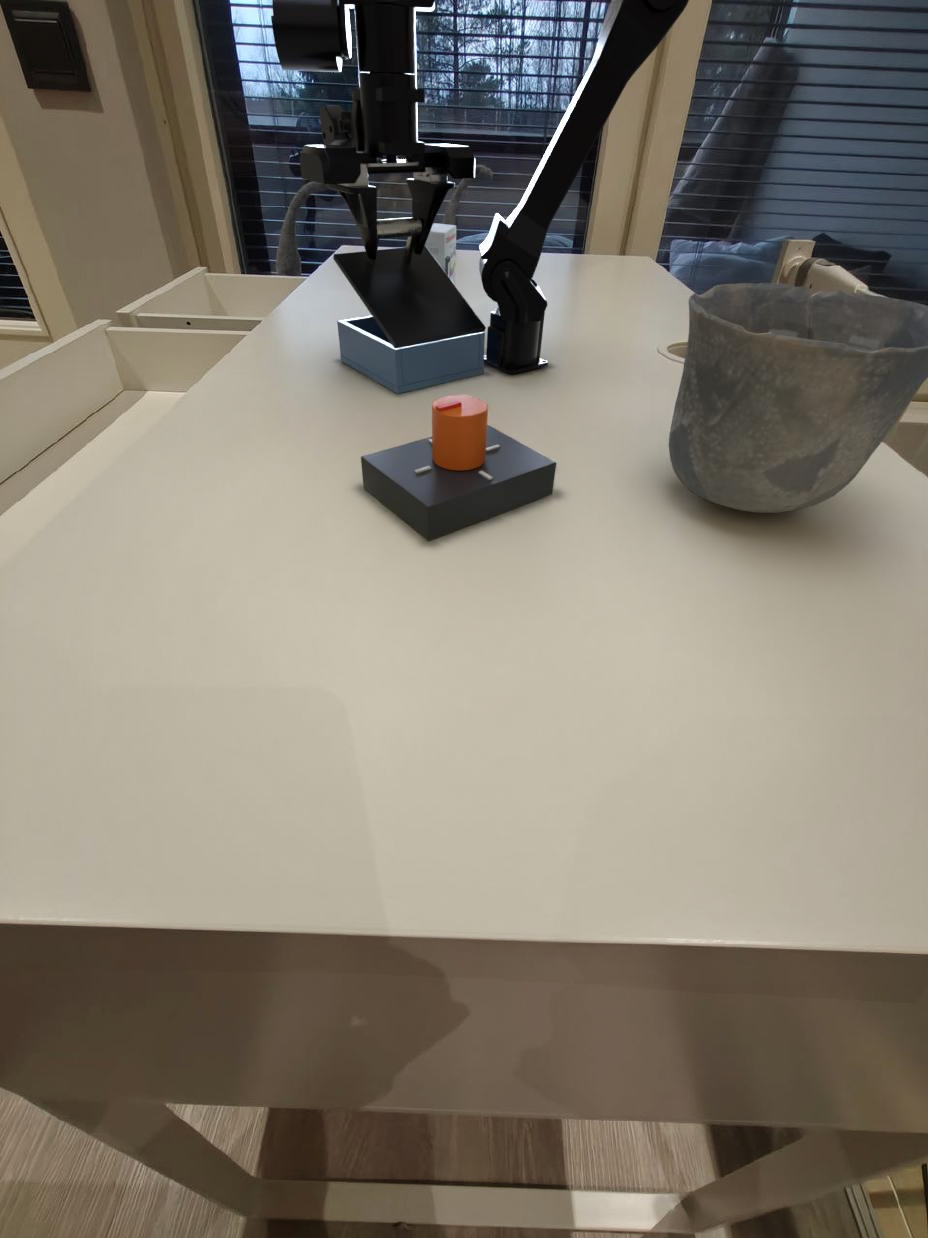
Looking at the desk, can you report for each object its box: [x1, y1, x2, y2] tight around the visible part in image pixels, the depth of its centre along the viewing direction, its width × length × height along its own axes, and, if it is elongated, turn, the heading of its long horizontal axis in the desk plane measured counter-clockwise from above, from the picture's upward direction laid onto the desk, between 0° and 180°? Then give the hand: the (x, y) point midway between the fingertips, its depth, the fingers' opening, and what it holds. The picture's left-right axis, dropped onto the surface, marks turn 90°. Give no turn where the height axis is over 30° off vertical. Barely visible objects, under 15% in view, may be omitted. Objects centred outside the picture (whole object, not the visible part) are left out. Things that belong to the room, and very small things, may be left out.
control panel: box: [360, 424, 557, 542], centre depth 50 cm, size 13×10×3 cm
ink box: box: [425, 222, 457, 287], centre depth 90 cm, size 9×5×12 cm, turn 168°
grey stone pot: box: [668, 282, 928, 513], centre depth 47 cm, size 18×18×15 cm
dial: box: [431, 394, 489, 471], centre depth 48 cm, size 4×4×5 cm
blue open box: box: [336, 314, 486, 395], centre depth 73 cm, size 14×13×5 cm
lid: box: [332, 216, 487, 349], centre depth 67 cm, size 14×13×5 cm
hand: (395, 256), depth 69 cm, fingers closed on lid, 6 cm apart
